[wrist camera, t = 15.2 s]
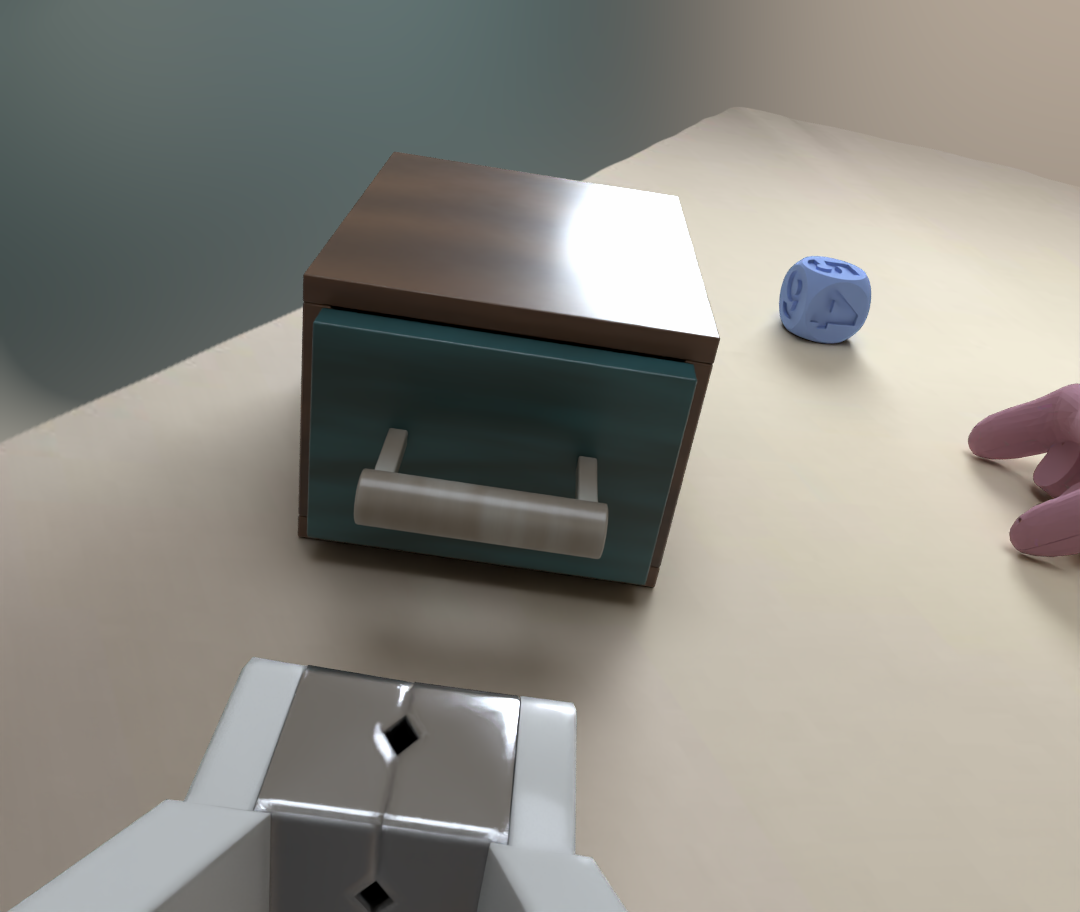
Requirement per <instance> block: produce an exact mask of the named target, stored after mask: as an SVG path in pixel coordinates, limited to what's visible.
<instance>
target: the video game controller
mask: <svg viewBox="0 0 1080 912" xmlns="http://www.w3.org/2000/svg"><path fill="white" fill-rule="evenodd" d="M968 444H969V447H970V449H971V451H972V452H973V454H975V455H977V456H979V457H982V458H987V459H1014V458H1022V457H1027V456H1032V455H1038V454H1042V453H1046V452H1047V454H1046V455H1045V457H1044V458H1043V459H1042V461H1041V462H1040V463H1039V464H1038V466H1037V468H1036V469H1035V471H1034V474H1033V480H1034V482H1035V483H1036V484H1037V485H1038V486H1039V487H1041V488H1042V489H1043V490H1044V491H1045V492H1047V493H1048V494H1049V495H1050V496H1052V497H1053V498H1054V499H1052V500H1049V501H1046V502H1043V503H1041V504H1038V505H1036V506H1034V507H1032V508H1031V509H1029V510H1028V511H1026V512H1025V513H1024V514H1022V515H1021V516H1019V517H1018V519H1017V520H1016V521H1015V522H1014V524H1013V525H1012V527H1011V529H1010V533H1009V535H1010V541H1011V542H1012V544H1013V546H1014V547H1015V548H1016V549H1017V550H1018V551H1020V552H1022V553H1025V554H1030V555H1035V556H1049V557H1054V556H1064V555H1073V554H1078V553H1080V384H1071V385H1068V386H1065V387H1062V388H1060V389H1058V390H1056V391H1054V392H1052V393H1050V394H1047V395H1045V396H1043V397H1041V398H1038V399H1036V400H1033V401H1030V402H1027V403H1024V404H1021V405H1017V406H1014V407H1011V408H1008V409H1005V410H1003V411H1000V412H997V413H995V414H992V415H990V416H988V417H986V418H985V419H983V420H982V421H980V422H979V423H978V424H977V425H976V426H975V427H974V428H973V430H972V431H971V433H970V435H969V438H968Z"/></svg>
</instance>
